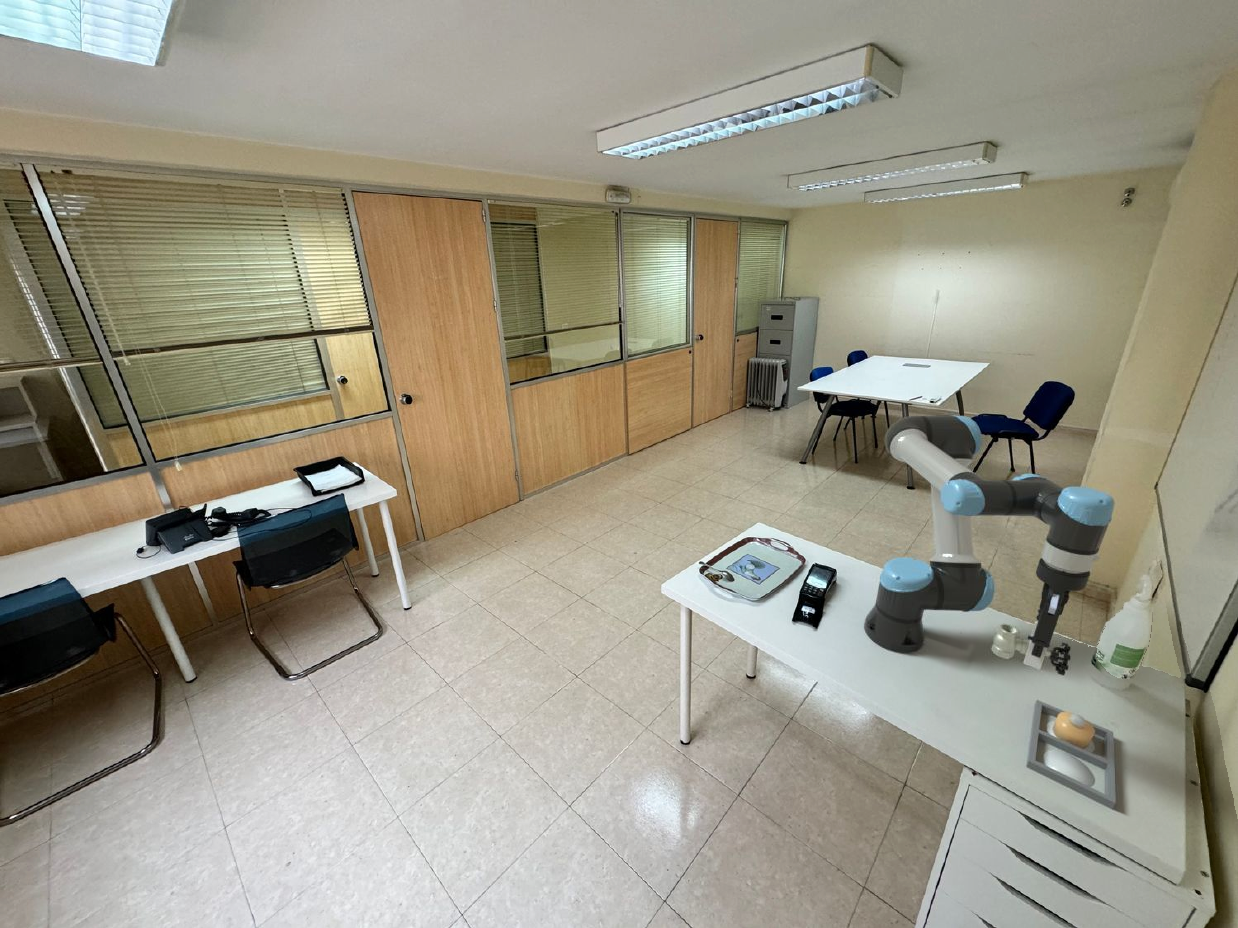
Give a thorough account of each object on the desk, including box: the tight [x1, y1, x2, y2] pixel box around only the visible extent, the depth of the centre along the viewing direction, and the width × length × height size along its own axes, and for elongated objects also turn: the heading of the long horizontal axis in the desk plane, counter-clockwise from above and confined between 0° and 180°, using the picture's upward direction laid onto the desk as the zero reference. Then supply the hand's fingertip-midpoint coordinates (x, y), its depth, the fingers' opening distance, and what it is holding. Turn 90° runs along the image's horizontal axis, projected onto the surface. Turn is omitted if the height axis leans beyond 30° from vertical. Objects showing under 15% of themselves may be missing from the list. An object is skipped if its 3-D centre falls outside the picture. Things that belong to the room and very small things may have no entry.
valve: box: [991, 623, 1072, 676], centre depth 102 cm, size 7×7×12 cm
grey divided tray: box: [1025, 699, 1117, 810], centre depth 103 cm, size 13×20×3 cm, turn 137°
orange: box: [1053, 711, 1095, 749], centre depth 105 cm, size 6×6×6 cm
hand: (1033, 656), depth 102 cm, fingers closed on valve, 6 cm apart
